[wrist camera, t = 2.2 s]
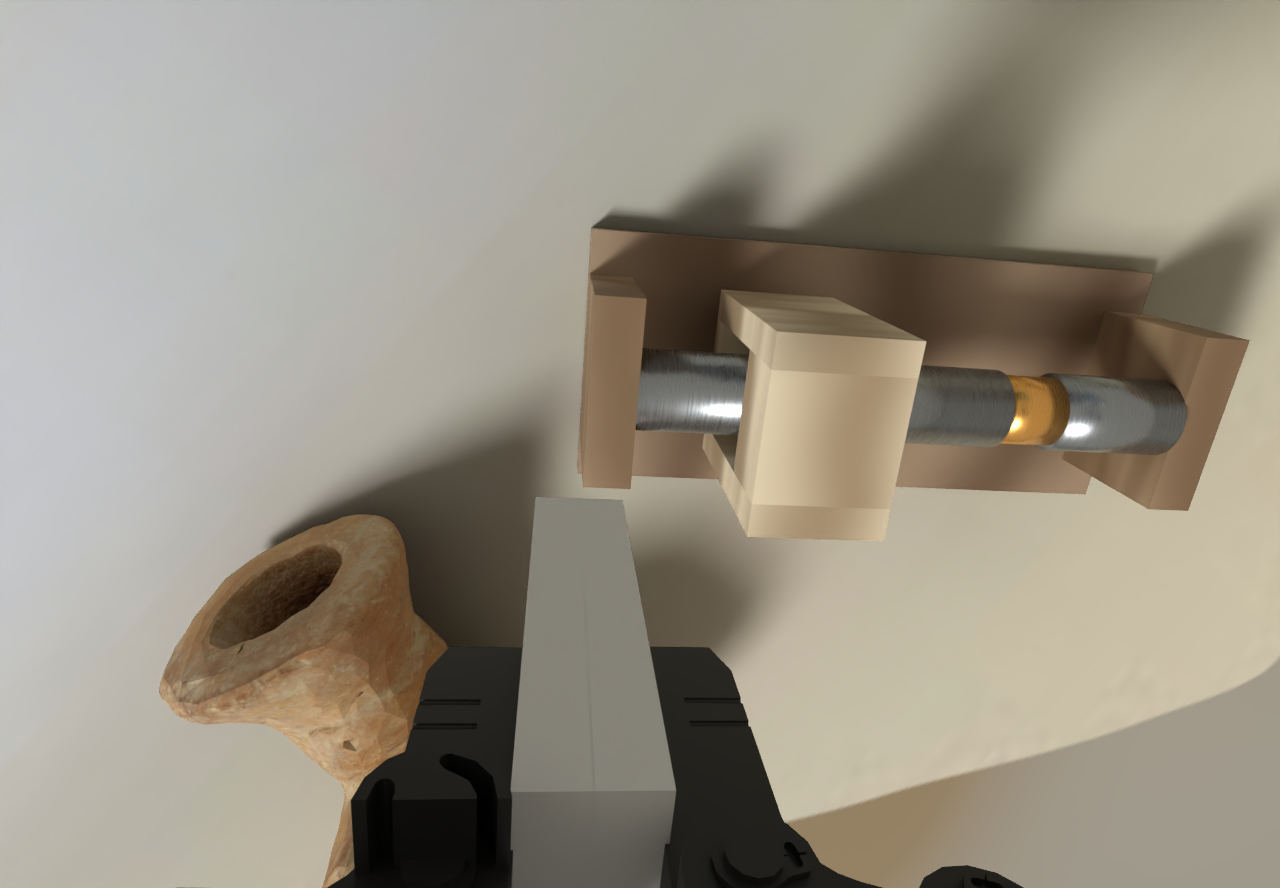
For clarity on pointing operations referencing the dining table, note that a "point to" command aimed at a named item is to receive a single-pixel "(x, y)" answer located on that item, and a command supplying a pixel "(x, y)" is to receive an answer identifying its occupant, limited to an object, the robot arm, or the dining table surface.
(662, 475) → the cradle
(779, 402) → the collar
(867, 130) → the dining table surface
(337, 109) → the dining table surface
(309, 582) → the pipe
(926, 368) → the rod
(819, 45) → the dining table surface
